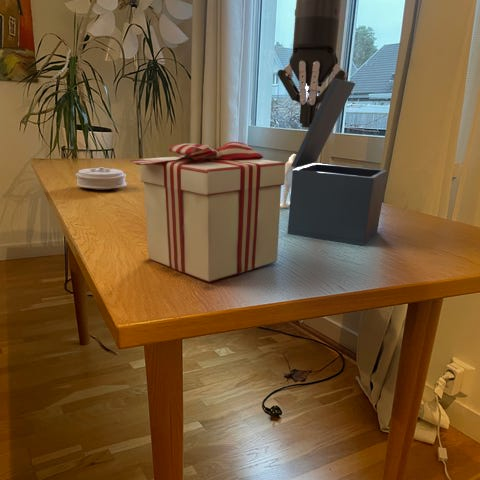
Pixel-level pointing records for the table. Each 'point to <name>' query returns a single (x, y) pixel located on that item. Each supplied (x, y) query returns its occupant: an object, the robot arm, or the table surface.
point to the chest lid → (323, 121)
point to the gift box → (212, 209)
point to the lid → (101, 178)
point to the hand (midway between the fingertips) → (307, 127)
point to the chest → (336, 202)
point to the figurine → (288, 181)
